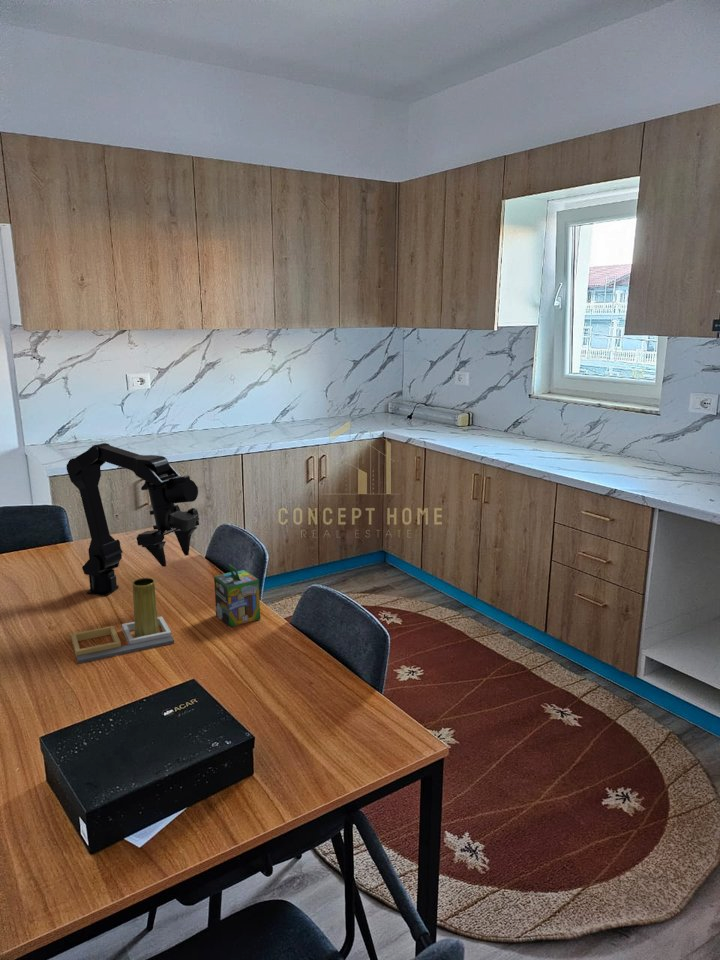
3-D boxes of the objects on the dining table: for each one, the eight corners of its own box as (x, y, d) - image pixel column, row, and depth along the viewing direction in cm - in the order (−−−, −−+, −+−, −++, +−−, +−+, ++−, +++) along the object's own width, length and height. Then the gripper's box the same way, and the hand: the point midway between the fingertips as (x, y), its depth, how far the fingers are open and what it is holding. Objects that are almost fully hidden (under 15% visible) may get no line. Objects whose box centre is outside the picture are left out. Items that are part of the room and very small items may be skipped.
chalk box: (261, 620, 180) (260, 567, 177) (228, 628, 175) (227, 574, 172) (246, 607, 188) (244, 556, 184) (214, 615, 183) (212, 563, 179)
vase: (164, 631, 173) (161, 578, 170) (149, 642, 167) (146, 588, 164) (144, 627, 175) (140, 575, 172) (128, 638, 169) (125, 584, 166)
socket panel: (77, 663, 157) (77, 656, 157) (71, 640, 168) (70, 633, 167) (174, 643, 167) (173, 636, 167) (162, 622, 178) (162, 616, 177)
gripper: (162, 511, 168) (176, 571, 171) (208, 493, 185) (220, 548, 187) (129, 514, 173) (142, 572, 176) (176, 496, 190) (188, 550, 192)
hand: (175, 560), depth 183 cm, fingers open, 9 cm apart
